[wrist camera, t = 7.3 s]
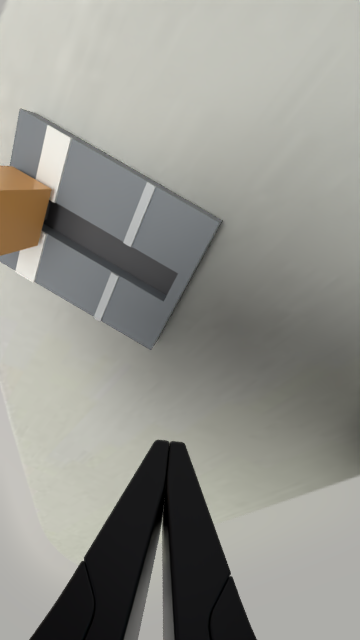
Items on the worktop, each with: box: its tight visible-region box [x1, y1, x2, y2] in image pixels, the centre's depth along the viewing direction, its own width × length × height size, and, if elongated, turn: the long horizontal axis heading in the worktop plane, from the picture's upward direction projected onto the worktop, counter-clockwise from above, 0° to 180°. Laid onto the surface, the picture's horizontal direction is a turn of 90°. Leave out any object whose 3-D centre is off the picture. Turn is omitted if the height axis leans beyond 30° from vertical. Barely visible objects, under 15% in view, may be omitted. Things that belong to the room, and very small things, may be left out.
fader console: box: [0, 109, 223, 350], centre depth 18 cm, size 12×9×1 cm
